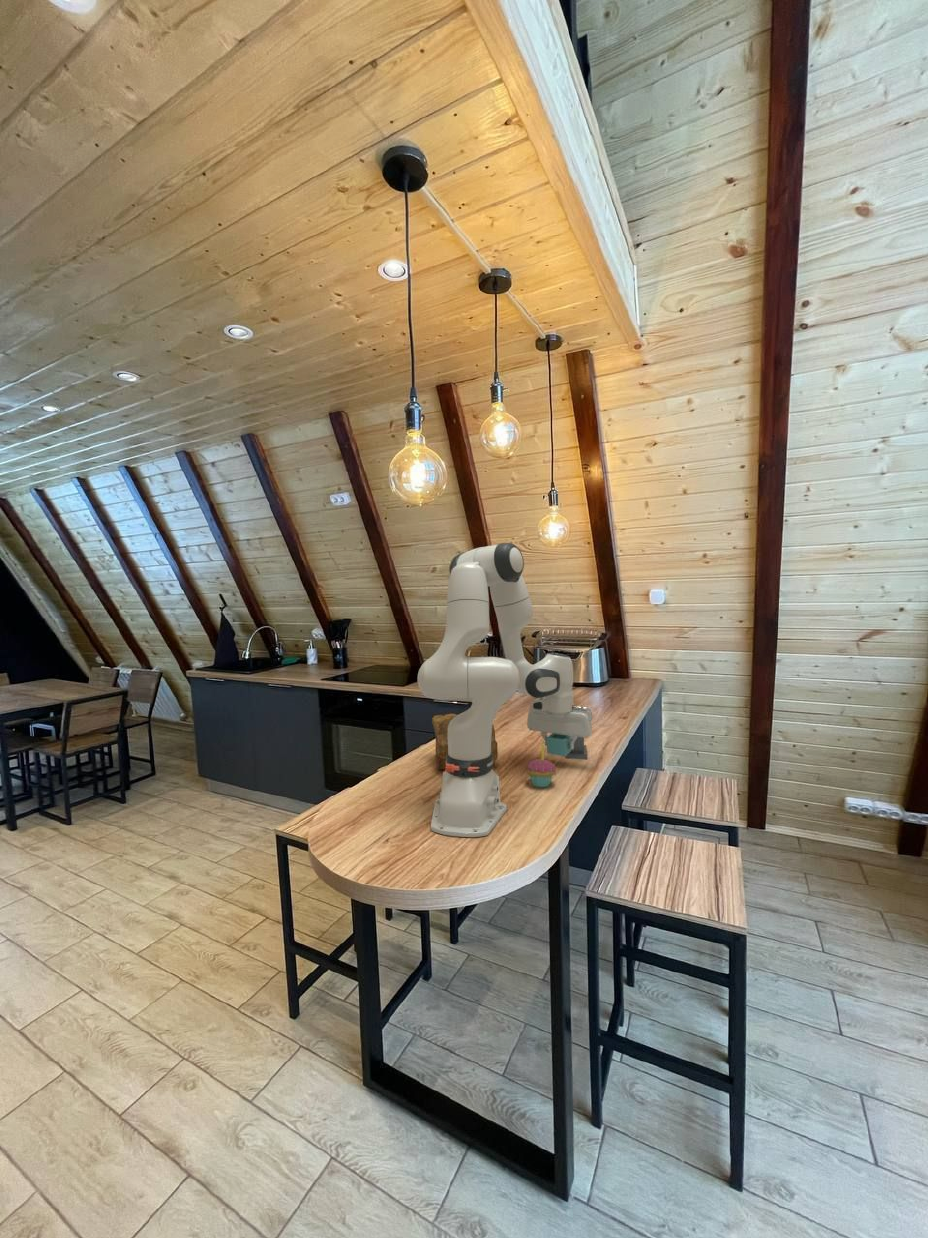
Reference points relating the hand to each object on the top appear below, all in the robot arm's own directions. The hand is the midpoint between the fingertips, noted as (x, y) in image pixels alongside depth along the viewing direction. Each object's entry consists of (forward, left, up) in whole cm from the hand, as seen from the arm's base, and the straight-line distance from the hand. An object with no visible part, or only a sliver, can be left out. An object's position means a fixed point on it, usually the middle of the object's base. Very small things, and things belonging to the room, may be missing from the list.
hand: (559, 747), depth 155 cm
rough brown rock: (-6, +32, -6) cm, 33 cm away
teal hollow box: (0, 0, -2) cm, 2 cm away
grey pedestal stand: (+13, -5, -6) cm, 15 cm away
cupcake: (-16, +5, -6) cm, 18 cm away
